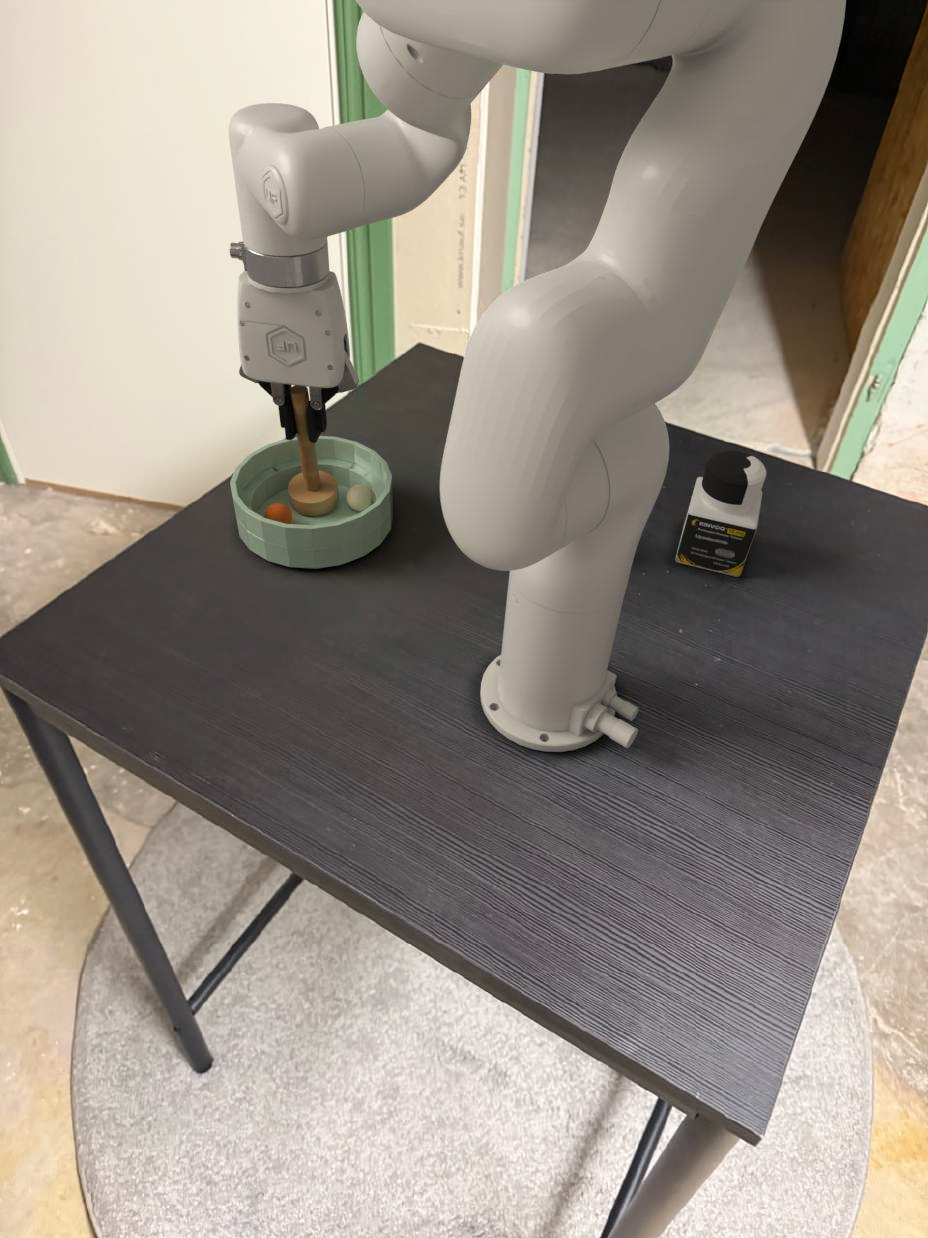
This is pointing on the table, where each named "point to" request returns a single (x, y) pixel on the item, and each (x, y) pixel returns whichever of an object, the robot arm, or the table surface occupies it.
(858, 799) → the table surface
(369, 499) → the bead cream
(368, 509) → the bowl
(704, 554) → the medicine bottle
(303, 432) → the wooden mushroom stand
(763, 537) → the table surface
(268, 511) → the bead orange
